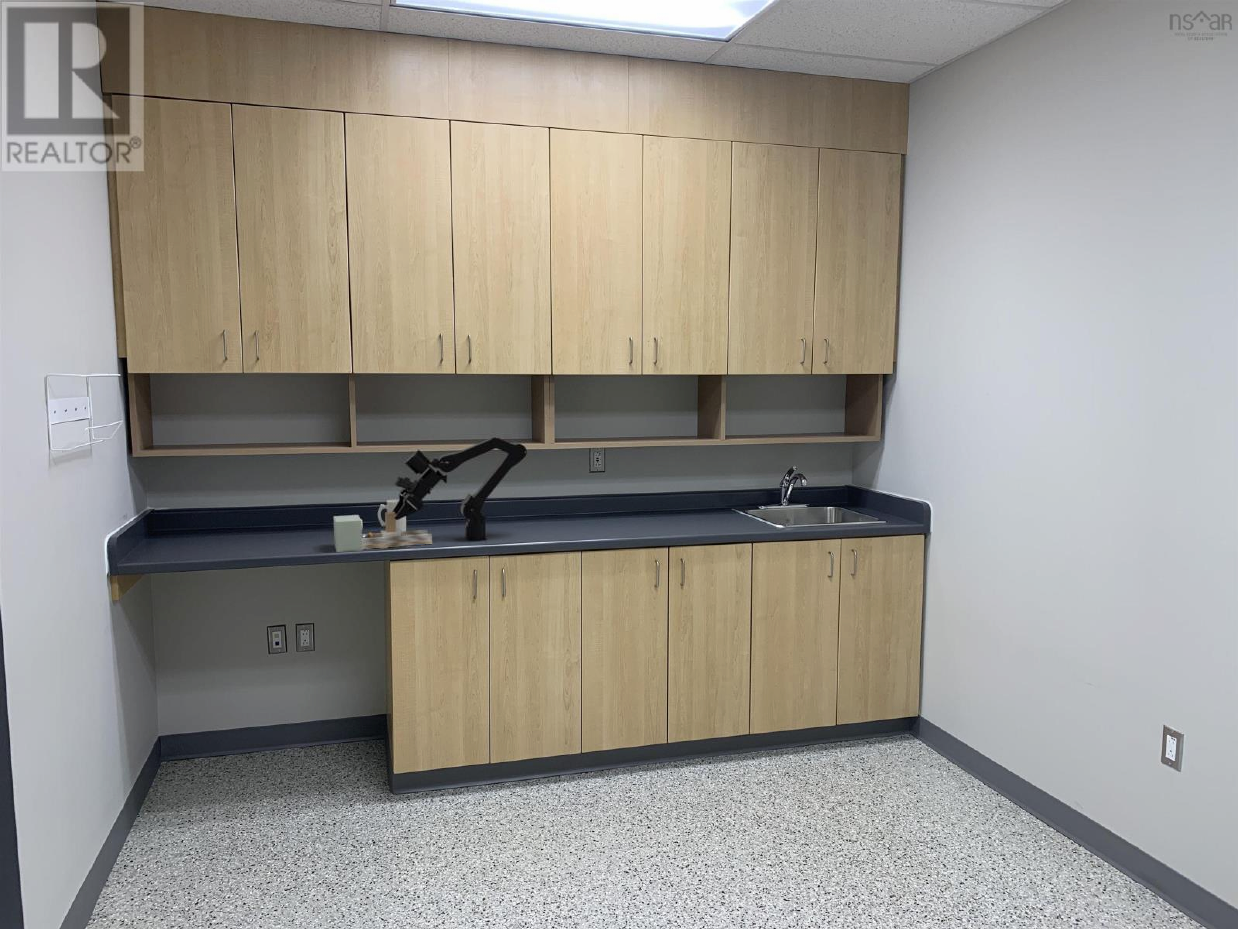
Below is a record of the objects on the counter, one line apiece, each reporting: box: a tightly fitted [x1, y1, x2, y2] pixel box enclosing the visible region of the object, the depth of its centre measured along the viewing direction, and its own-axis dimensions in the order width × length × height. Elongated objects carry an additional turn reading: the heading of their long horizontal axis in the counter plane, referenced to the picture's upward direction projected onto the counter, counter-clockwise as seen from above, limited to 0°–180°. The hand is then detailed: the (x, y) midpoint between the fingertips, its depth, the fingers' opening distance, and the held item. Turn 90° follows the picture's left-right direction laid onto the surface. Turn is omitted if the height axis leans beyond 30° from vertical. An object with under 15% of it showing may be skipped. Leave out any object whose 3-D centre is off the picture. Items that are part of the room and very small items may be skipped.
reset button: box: [362, 532, 373, 538], centre depth 281 cm, size 6×5×3 cm
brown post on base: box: [380, 511, 401, 537], centre depth 284 cm, size 6×6×9 cm
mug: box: [377, 499, 407, 532], centre depth 304 cm, size 10×7×12 cm, turn 102°
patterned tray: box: [361, 529, 433, 551], centre depth 285 cm, size 23×10×4 cm, turn 112°
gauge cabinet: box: [333, 514, 363, 553], centre depth 279 cm, size 8×12×10 cm
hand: (393, 517), depth 284 cm, fingers open, 9 cm apart
